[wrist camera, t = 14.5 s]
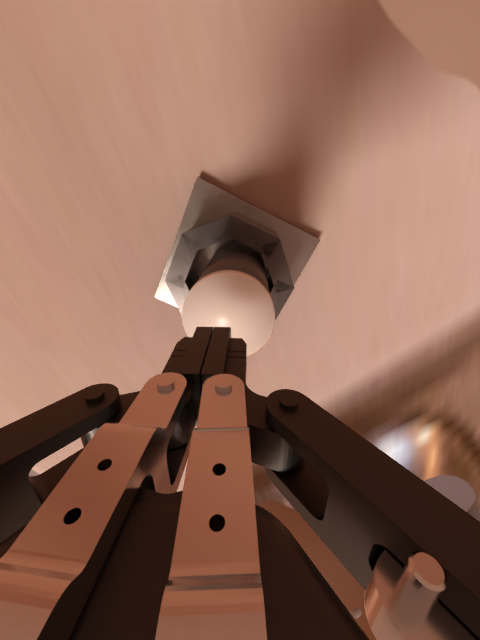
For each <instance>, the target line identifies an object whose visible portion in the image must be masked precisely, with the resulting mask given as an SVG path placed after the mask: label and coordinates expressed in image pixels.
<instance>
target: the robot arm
mask: <svg viewBox="0 0 480 640" xmlns="http://www.w3.org/2000/svg"><path fill="white" fill-rule="evenodd" d="M246 356H247V344H246V343H245V341H244V340H243V339H242V338H231V327H196V330H195V332H194V335H193V337H184V338H183V339H182V340H180V341H179V342H178V343H177V344H176V346H175V348H174V351H173V352H172V354H171V357H170V358H169V360H168V362H167V364H166V366H165V368H164V370H163V372H162V374H158V375H156V376H154V377H152V378H151V379H149V380H148V381H147V382H146V384H145V385H144V387H143V388H142V390H141V391H138V392H134V393H128V394H123V395H119V391H118V388H117V387H116V386H114V385H112V384H96V385H92V386H89V387H87V388H85V389H83V390H80V391H78V392H76V393H74V394H72V395H70V396H68V397H66V398H64V399H61V400H59V401H57V402H55V403H53V404H51V405H49V406H47V407H45V408H42V409H40V410H38V411H36V412H34V413H32V414H30V415H28V416H26V417H23V418H21V419H19V420H17V421H15V422H13V423H11V424H9V425H7V426H4V427H2V428H0V640H369V638H368V637H367V636H366V634H365V633H364V631H363V630H362V629H361V627H360V626H359V625H358V623H357V622H356V621H355V619H354V618H353V617H352V615H351V614H350V612H349V611H348V610H347V608H346V607H345V606H344V604H343V603H342V602H341V600H340V599H339V598H338V596H337V595H336V594H335V592H334V591H333V590H332V588H331V587H330V585H329V584H328V583H327V581H326V580H325V579H324V577H323V576H322V575H321V573H320V572H319V571H318V569H317V568H316V566H315V565H314V564H313V562H312V561H311V560H310V558H309V557H308V556H307V554H306V553H305V551H304V550H303V549H302V548H301V546H300V545H299V544H298V542H297V541H296V539H295V538H294V537H293V535H292V534H291V533H290V531H289V530H288V529H287V528H286V527H285V526H284V525H283V524H282V523H281V522H280V520H278V519H277V518H276V517H275V516H274V515H272V514H271V513H269V512H268V511H267V510H265V509H264V508H262V507H259V506H258V505H256V504H255V499H254V487H253V474H252V462H253V463H255V464H258V465H261V466H263V470H264V472H265V474H266V476H267V477H268V478H269V479H270V480H271V482H272V483H273V484H274V485H275V486H276V487H277V489H278V490H279V491H280V492H281V493H282V494H283V496H284V497H285V498H286V499H287V500H288V501H289V502H290V504H291V505H292V506H293V507H294V508H295V509H296V510H297V512H298V513H299V514H300V515H301V516H302V518H303V519H304V520H305V521H306V522H307V523H308V524H309V526H310V527H311V528H312V529H313V530H314V532H315V533H316V534H317V535H318V536H319V537H320V539H321V540H322V541H323V542H324V543H325V544H326V545H327V547H328V548H329V549H330V550H331V551H332V552H333V554H334V555H335V556H336V557H337V558H338V559H339V561H340V562H341V563H342V564H343V565H344V566H345V568H346V569H347V570H348V571H349V572H350V573H351V574H352V576H353V577H354V578H355V579H356V580H357V581H358V583H359V584H360V585H361V586H362V587H363V588H364V590H365V598H364V605H365V611H366V616H367V619H368V622H369V625H370V627H371V630H372V631H373V634H374V635H375V637H376V639H377V640H480V522H479V521H478V520H476V519H475V518H474V517H472V516H471V515H470V514H468V513H467V512H465V511H464V510H463V509H461V508H460V507H458V506H457V505H456V504H454V503H453V502H452V501H450V500H449V499H447V498H446V497H445V496H443V495H442V494H440V493H439V492H438V491H436V490H435V489H434V488H432V487H431V486H429V485H428V484H426V483H425V482H424V481H422V480H421V479H420V478H418V477H417V476H416V475H414V474H413V473H411V472H410V471H409V470H407V469H406V468H404V467H403V466H402V465H400V464H399V463H398V462H396V461H395V460H393V459H392V458H391V457H389V456H388V455H387V454H385V453H384V452H382V451H381V450H380V449H378V448H377V447H375V446H374V445H373V444H371V443H370V442H369V441H367V440H366V439H364V438H363V437H362V436H360V435H359V434H357V433H356V432H355V431H353V430H352V429H351V428H349V427H348V426H346V425H345V424H344V423H342V422H341V421H339V420H338V419H337V418H335V417H334V416H333V415H331V414H330V413H328V412H327V411H326V410H324V409H323V408H321V407H320V406H319V405H317V404H316V403H315V402H313V401H312V400H310V399H309V398H308V397H306V396H305V395H303V394H302V393H300V392H297V391H294V390H289V389H282V390H277V391H274V392H272V393H271V394H270V395H269V396H268V397H264V396H261V395H258V394H256V393H254V392H252V391H251V390H250V389H249V388H248V387H247V385H246ZM195 426H197V428H194V427H195ZM80 437H81V440H82V443H83V446H84V448H83V449H81V450H79V451H78V452H76V453H74V454H73V455H71V456H70V457H68V458H66V459H65V460H63V461H61V462H60V463H58V464H57V465H55V466H53V467H52V468H50V469H48V470H47V471H45V472H44V473H42V474H40V475H38V476H33V477H30V476H29V472H30V470H31V469H32V467H33V466H34V465H35V464H36V463H38V462H39V461H41V460H42V459H44V458H46V457H47V456H49V455H51V454H53V453H54V452H56V451H58V450H59V449H61V448H63V447H65V446H66V445H68V444H70V443H71V442H73V441H75V440H76V439H78V438H80ZM187 459H188V462H187ZM186 462H187V468H186V475H185V481H184V487H183V491H180V492H177V489H178V486H179V483H180V480H181V477H182V474H183V471H184V468H185V465H186Z"/></svg>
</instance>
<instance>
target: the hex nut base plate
mask: <svg viewBox="0 0 480 640" xmlns="http://www.w3.org/2000/svg"><path fill="white" fill-rule="evenodd" d="M319 241H320V239H318V238H316V237H314V236H312V235H310V234H308V233H306V232H305V231H303V230H301V229H299V228H297V227H295V226H293V225H291V224H289V223H287V222H285V221H283V220H281V219H279V218H277V217H275V216H273V215H271V214H269V213H267V212H266V211H264V210H262V209H260V208H258V207H256V206H254V205H252V204H250V203H248V202H246V201H244V200H242V199H240V198H238V197H236V196H234V195H232V194H230V193H228V192H226V191H225V190H223V189H221V188H219V187H217V186H215V185H213V184H211V183H209V182H207V181H205V180H203V179H201V178H199V177H197V180H196V182H195V185H194V188H193V191H192V194H191V196H190V199H189V202H188V205H187V208H186V210H185V213H184V216H183V219H182V222H181V224H180V227H179V230H178V233H177V236H176V239H175V241H174V244H173V247H172V250H171V253H170V255H169V258H168V261H167V264H166V267H165V269H164V272H163V275H162V278H161V281H160V283H159V286H158V289H157V292H156V295H155V298H157V299H160V300H162V301H164V302H166V303H169V304H171V305H173V306H176V307H178V308H179V311H180V313H181V315H182V307H183V303H184V300H185V298H186V296H187V294H188V293H189V291H190V290H191V288H192V287H193V285H194V284H195V283H196V282H197V281H198V280H199V278H200V277H201V275H202V273H203V272H204V270H205V268H206V267H207V265H208V263H209V262H210V260H211V258H212V257H213V255H214V254H215V253H216V251H217V250H219V249H220V248H221V247H223V246H225V245H228V244H232V243H241V244H244V245H246V246H248V247H250V248H252V249H255V250H256V251H257V252H258V253H259V254H260V256H261V257H262V259H263V262H264V265H265V270H266V276H267V282H268V287H269V293H270V296H271V299H272V302H273V306H274V311H275V320H276V318H277V316H278V315H279V313H280V311H281V310H282V308H283V306H284V304H285V303H286V301H287V299H288V298H289V296H290V294H291V292H292V291H293V289H294V284H295V282H296V281H297V279H298V277H299V275H300V274H301V272H302V270H303V269H304V267H305V265H306V263H307V262H308V260H309V258H310V256H311V255H312V253H313V251H314V250H315V248H316V246H317V244H318V243H319Z"/></svg>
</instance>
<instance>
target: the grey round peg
mask: <svg viewBox="0 0 480 640" xmlns="http://www.w3.org/2000/svg"><path fill="white" fill-rule="evenodd" d="M182 323H183V327H184V330H185V332H186V334H187V336H188V337H193V335H194V332H195V330H196V327H231V338H242V339H243V340H244V341H245V343H246V344H247V356H249V355H251V354H253V353H255V352H256V351H258V350H259V349H260V348H261V347H263V346H264V345H265V343H266V342H267V341H268V339H269V338H270V336H271V334H272V332H273V329H274V324H275V311H274V306H273V302H272V299H271V296H270V293H269V287H268V282H267V276H266V270H265V265H264V262H263V259H262V257H261V256H260V254H259V253H258V252H257V251H256V250H255V249H252V248H250V247H248V246H246V245H244V244H241V243H232V244H228V245H225V246H223V247H221V248H220V249H219V250H217V251H216V253H215V254H214V255H213V257H212V258H211V260H210V262H209V263H208V265H207V267H206V268H205V270H204V272H203V273H202V275H201V277H200V278H199V280H198V281H197V282H196V283H195V284H194V285H193V287H192V288H191V290H190V291H189V293H188V294H187V296H186V298H185V300H184V303H183V307H182Z"/></svg>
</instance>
